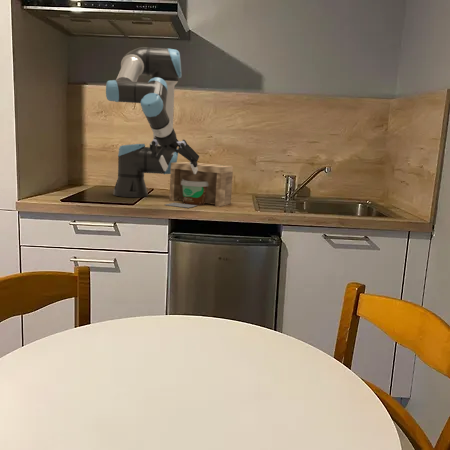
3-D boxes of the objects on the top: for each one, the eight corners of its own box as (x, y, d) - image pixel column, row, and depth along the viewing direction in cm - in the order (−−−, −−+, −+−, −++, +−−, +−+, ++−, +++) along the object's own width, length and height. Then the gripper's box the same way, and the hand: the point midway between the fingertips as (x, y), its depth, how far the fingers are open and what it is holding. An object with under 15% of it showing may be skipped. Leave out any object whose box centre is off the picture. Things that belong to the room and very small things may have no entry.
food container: (175, 203, 224) (176, 179, 222) (181, 201, 230) (182, 178, 228) (201, 206, 220) (202, 182, 218) (207, 204, 225) (208, 181, 224)
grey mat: (164, 205, 217) (164, 204, 217) (173, 203, 224) (173, 202, 224) (188, 208, 213) (188, 207, 213) (197, 206, 220) (197, 205, 220)
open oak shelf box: (169, 200, 232) (170, 162, 229) (182, 197, 243) (184, 161, 240) (219, 206, 223) (221, 167, 220) (230, 203, 234) (233, 166, 231)
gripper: (130, 136, 199) (150, 174, 215) (190, 140, 189) (205, 180, 206) (139, 122, 203) (157, 161, 219) (197, 126, 193) (212, 165, 210)
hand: (181, 170), depth 212 cm, fingers open, 13 cm apart
